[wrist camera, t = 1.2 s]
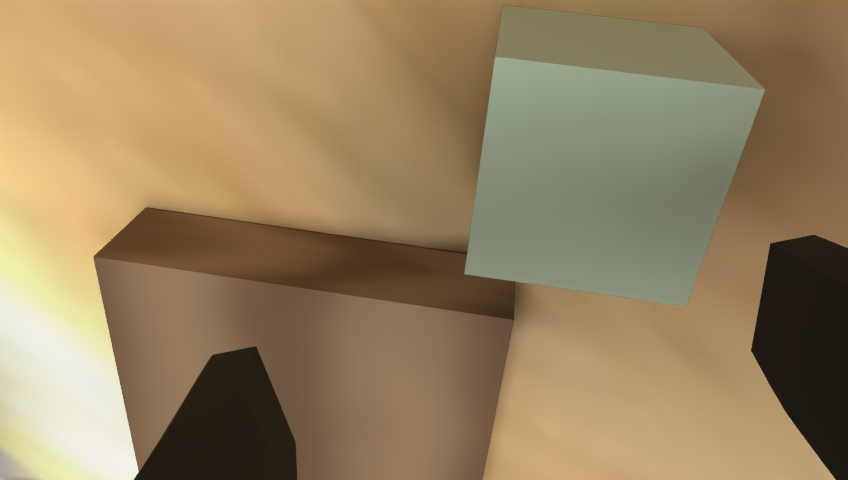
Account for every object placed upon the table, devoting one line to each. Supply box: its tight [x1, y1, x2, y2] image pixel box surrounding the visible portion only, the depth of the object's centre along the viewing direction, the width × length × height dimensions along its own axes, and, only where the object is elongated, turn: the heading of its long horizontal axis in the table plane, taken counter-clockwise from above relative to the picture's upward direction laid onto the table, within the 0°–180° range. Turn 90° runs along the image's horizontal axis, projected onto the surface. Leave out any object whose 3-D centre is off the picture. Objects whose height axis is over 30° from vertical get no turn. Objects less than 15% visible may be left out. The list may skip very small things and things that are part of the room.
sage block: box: [464, 5, 765, 306], centre depth 16 cm, size 5×5×5 cm
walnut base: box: [94, 208, 515, 480], centre depth 23 cm, size 12×12×3 cm
